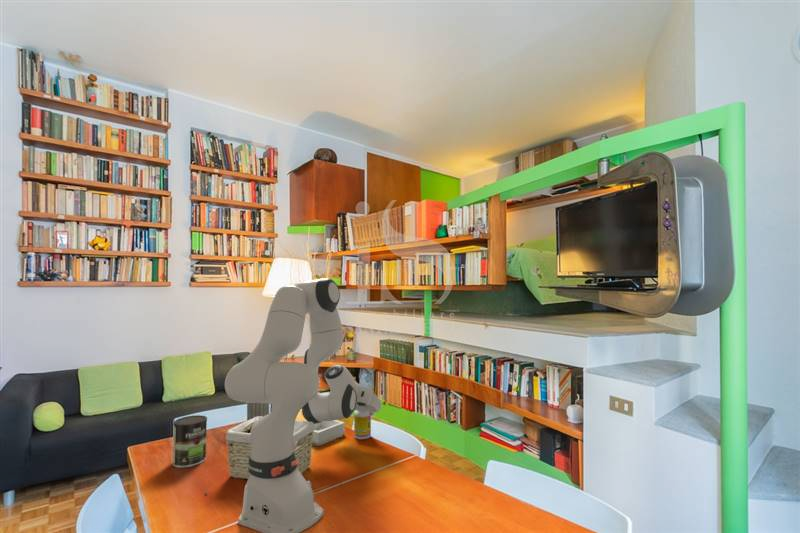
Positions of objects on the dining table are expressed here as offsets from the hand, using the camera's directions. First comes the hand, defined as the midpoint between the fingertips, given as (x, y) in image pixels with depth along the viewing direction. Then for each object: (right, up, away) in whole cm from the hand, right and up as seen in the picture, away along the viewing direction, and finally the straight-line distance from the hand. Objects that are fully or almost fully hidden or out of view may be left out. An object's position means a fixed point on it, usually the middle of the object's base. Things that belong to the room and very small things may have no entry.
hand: (362, 412), depth 157 cm
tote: (-17, -10, 0) cm, 20 cm away
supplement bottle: (0, -10, 0) cm, 10 cm away
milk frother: (-45, -11, +5) cm, 47 cm away
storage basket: (-27, -9, -29) cm, 41 cm away
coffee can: (-58, -9, -21) cm, 62 cm away
